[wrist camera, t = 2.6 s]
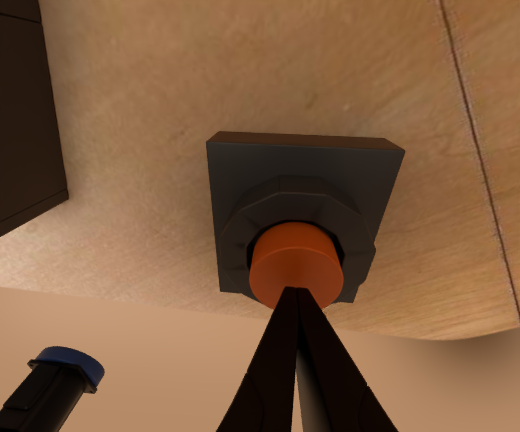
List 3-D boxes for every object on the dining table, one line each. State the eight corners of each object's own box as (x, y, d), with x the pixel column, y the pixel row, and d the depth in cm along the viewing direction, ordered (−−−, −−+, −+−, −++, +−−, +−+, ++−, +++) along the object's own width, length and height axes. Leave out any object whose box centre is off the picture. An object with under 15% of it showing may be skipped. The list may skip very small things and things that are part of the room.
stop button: (327, 286, 11) (334, 318, 10) (253, 280, 11) (249, 310, 10) (342, 223, 9) (354, 251, 8) (254, 217, 10) (248, 243, 8)
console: (344, 276, 15) (362, 332, 12) (227, 266, 16) (211, 318, 13) (385, 138, 11) (432, 164, 7) (218, 131, 11) (190, 153, 8)
